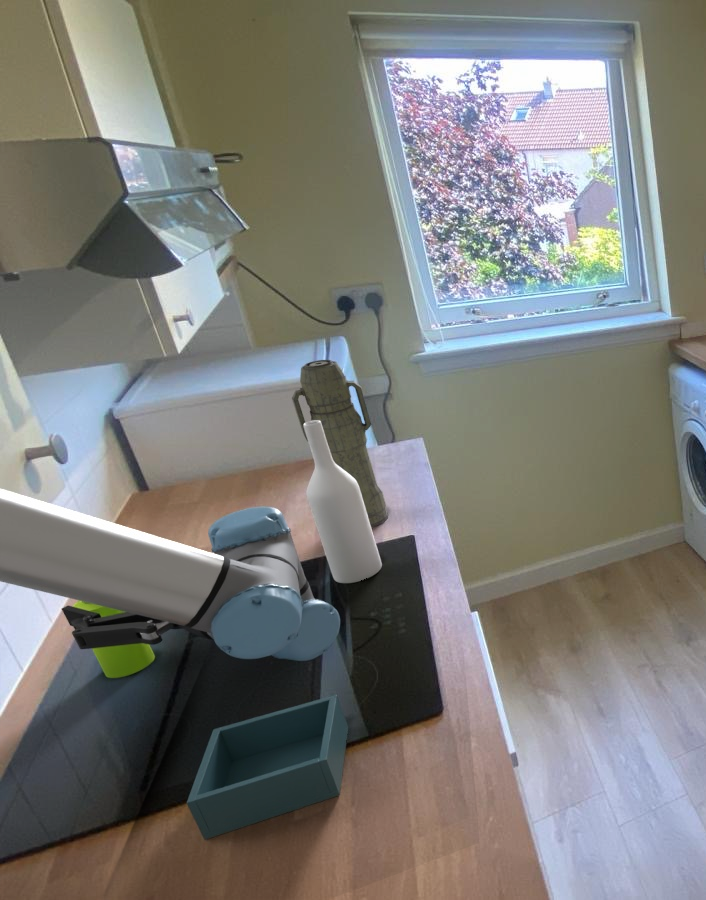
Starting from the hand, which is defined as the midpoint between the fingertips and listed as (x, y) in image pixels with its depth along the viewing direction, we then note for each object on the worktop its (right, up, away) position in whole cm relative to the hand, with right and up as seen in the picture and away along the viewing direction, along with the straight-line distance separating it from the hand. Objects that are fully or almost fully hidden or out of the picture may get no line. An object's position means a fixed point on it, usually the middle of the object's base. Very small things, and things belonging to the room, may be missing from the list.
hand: (126, 587), depth 103 cm
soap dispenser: (-9, -15, +10) cm, 20 cm away
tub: (+30, -22, -11) cm, 38 cm away
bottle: (+12, -4, +35) cm, 37 cm away
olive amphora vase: (+2, +4, +54) cm, 54 cm away
